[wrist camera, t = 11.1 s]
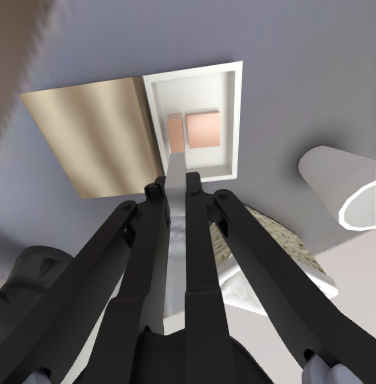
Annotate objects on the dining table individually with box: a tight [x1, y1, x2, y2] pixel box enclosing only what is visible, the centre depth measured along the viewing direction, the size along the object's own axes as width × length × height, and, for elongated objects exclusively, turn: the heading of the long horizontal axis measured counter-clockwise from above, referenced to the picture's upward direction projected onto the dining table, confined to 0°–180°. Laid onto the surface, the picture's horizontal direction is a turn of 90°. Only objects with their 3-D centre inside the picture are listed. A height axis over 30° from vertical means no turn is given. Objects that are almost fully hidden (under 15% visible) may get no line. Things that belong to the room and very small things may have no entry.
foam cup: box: [298, 146, 376, 231], centre depth 27 cm, size 10×9×13 cm
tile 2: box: [166, 113, 185, 153], centre depth 26 cm, size 5×5×2 cm
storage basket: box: [210, 205, 338, 316], centre depth 38 cm, size 24×16×15 cm
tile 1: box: [186, 111, 220, 149], centre depth 27 cm, size 5×5×2 cm
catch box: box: [143, 61, 243, 182], centre depth 27 cm, size 12×16×4 cm
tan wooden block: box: [18, 77, 165, 199], centre depth 27 cm, size 14×16×6 cm
